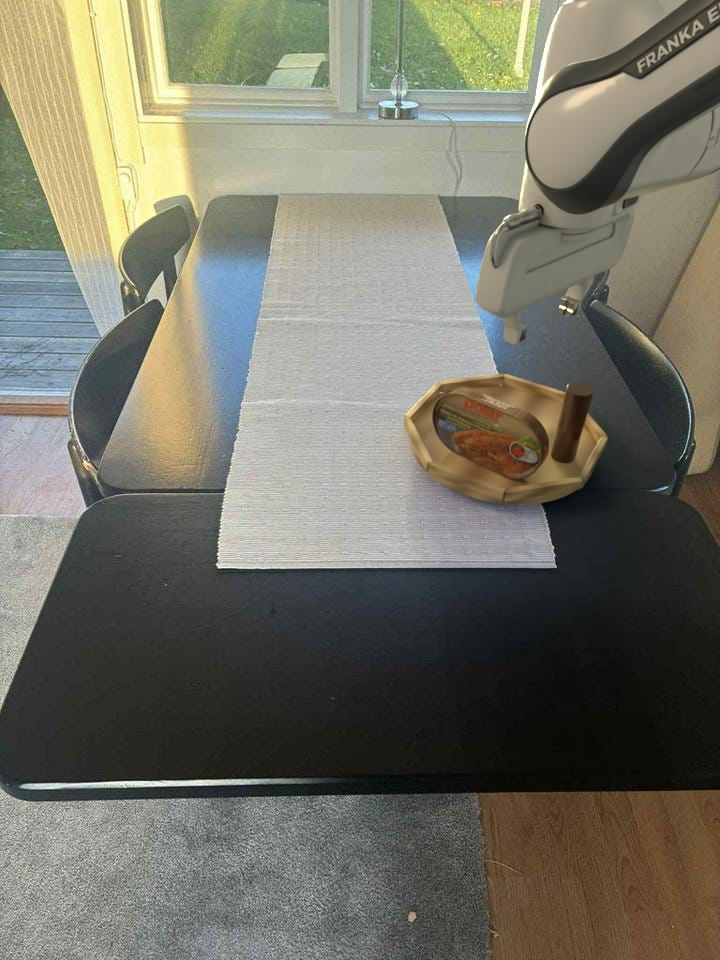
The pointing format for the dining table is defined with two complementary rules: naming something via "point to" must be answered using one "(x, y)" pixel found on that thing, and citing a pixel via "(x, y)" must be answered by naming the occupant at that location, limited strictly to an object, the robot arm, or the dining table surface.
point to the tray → (563, 422)
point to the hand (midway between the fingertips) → (541, 326)
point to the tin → (491, 433)
